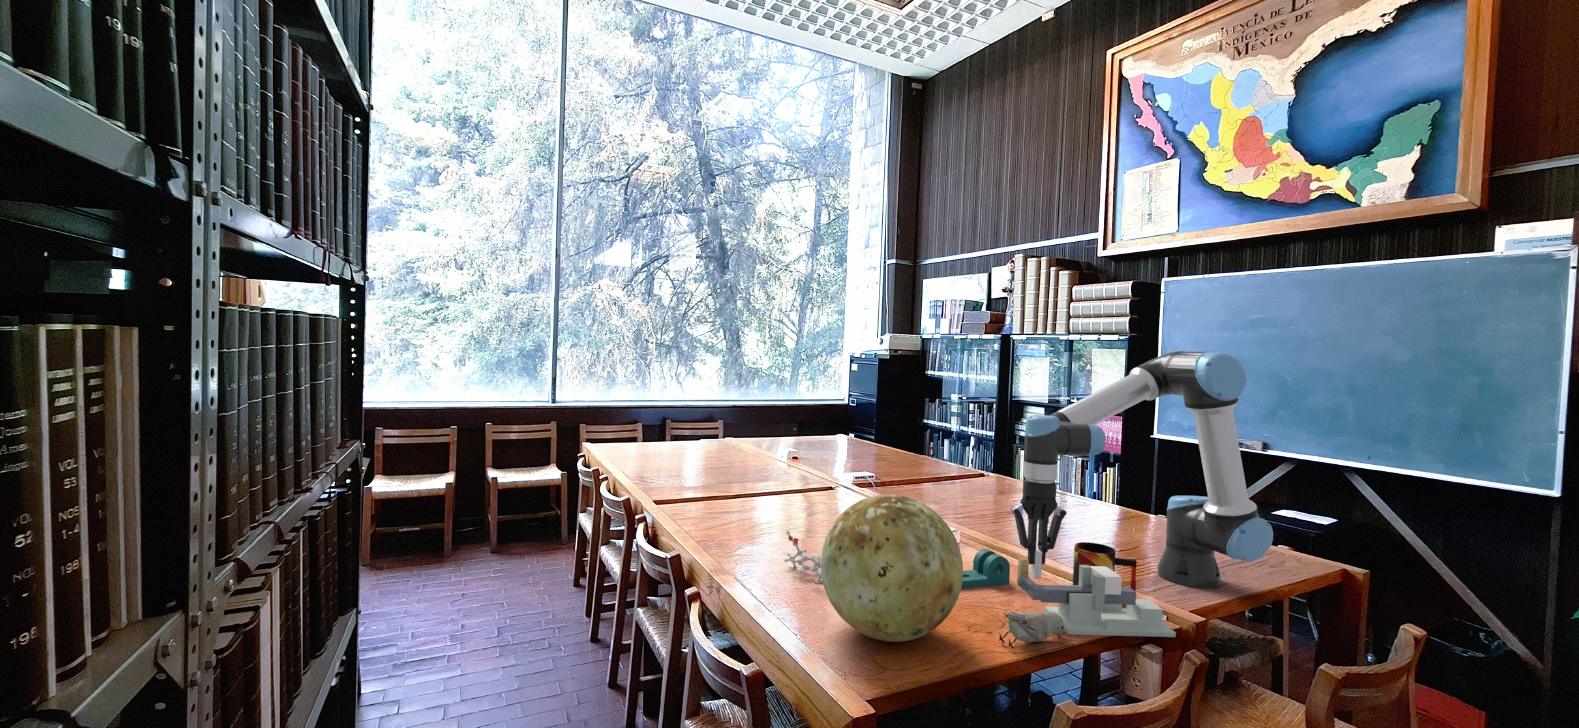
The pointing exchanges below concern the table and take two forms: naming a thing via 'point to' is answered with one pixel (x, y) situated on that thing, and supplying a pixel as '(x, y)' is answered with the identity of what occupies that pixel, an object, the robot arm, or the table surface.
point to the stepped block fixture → (1108, 613)
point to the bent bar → (1065, 589)
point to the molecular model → (804, 558)
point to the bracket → (987, 570)
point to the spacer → (1108, 579)
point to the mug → (1099, 560)
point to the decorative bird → (1033, 626)
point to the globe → (891, 568)
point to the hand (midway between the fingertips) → (1035, 576)
